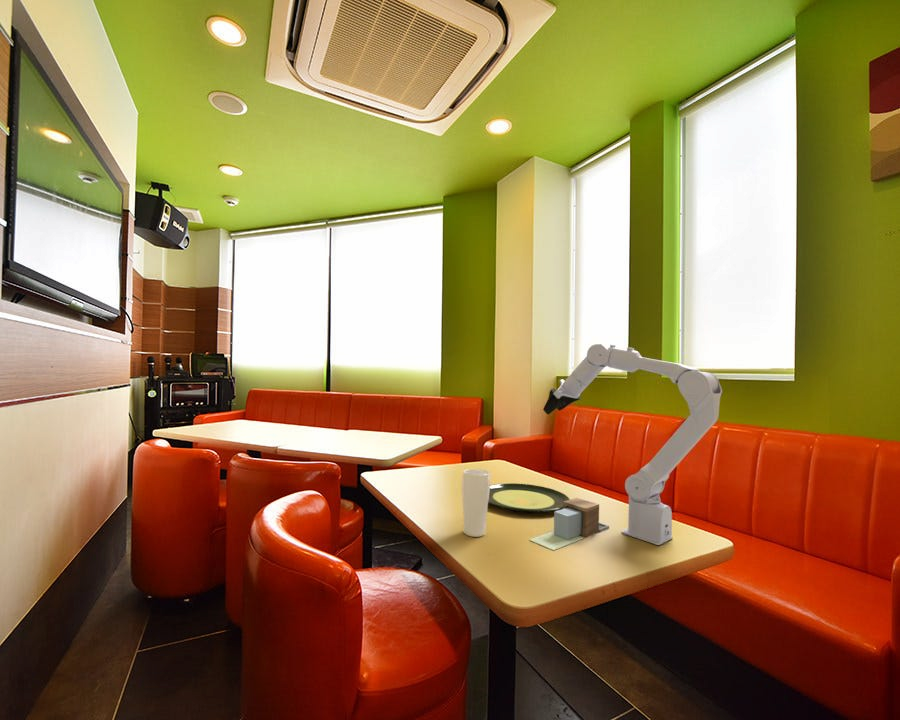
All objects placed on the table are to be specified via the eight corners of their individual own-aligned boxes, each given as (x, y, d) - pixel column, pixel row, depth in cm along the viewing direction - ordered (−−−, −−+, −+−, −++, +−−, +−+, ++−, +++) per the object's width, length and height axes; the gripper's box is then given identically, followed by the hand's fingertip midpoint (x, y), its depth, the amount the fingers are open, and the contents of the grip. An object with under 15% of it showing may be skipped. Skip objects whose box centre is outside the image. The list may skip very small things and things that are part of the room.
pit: (609, 528, 109) (609, 525, 109) (600, 531, 106) (600, 529, 106) (585, 520, 114) (585, 518, 114) (576, 523, 111) (576, 521, 111)
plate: (576, 523, 112) (576, 514, 113) (473, 513, 117) (474, 504, 117) (564, 494, 140) (564, 486, 140) (481, 487, 145) (482, 480, 145)
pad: (583, 538, 101) (583, 537, 101) (553, 550, 93) (553, 549, 93) (559, 529, 106) (559, 528, 106) (529, 540, 99) (529, 539, 99)
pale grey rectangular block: (595, 529, 107) (595, 507, 107) (567, 539, 99) (568, 516, 99) (581, 524, 110) (581, 503, 110) (553, 534, 102) (554, 511, 102)
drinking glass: (465, 540, 98) (467, 475, 98) (457, 529, 104) (459, 468, 105) (492, 538, 99) (494, 474, 100) (482, 527, 106) (484, 468, 106)
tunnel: (598, 532, 106) (599, 504, 106) (585, 537, 102) (586, 508, 102) (575, 524, 111) (576, 497, 111) (562, 529, 107) (563, 501, 107)
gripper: (581, 367, 127) (553, 397, 133) (559, 370, 116) (530, 403, 122) (598, 383, 124) (569, 414, 130) (577, 388, 113) (547, 421, 119)
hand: (551, 410), depth 126 cm, fingers open, 7 cm apart
